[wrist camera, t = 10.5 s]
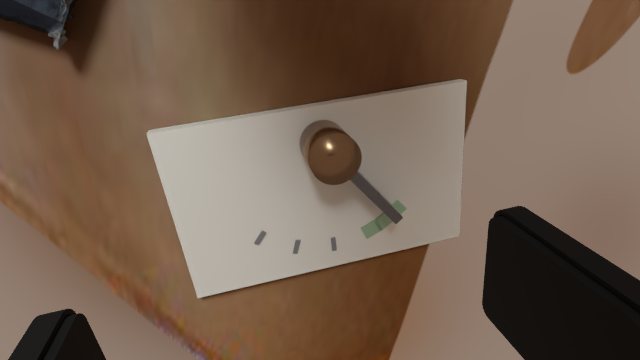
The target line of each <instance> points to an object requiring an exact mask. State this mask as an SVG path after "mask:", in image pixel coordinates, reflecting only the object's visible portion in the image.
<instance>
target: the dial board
mask: <svg viewBox="0 0 640 360" xmlns="http://www.w3.org/2000/svg"><path fill="white" fill-rule="evenodd" d="M466 89H467V81H466V80H462V79H457V80H451V81H444V82H438V83H432V84H426V85H420V86H414V87H408V88H402V89H396V90H390V91H384V92H378V93H371V94H365V95H359V96H353V97H347V98H341V99H335V100H329V101H323V102H317V103H311V104H305V105H299V106H292V107H286V108H280V109H274V110H268V111H262V112H256V113H250V114H244V115H238V116H232V117H226V118H219V119H213V120H207V121H201V122H195V123H189V124H183V125H177V126H171V127H165V128H159V129H153V130H149V131H148V132H147V137H148V140H149V144H150V147H151V150H152V153H153V156H154V160H155V163H156V166H157V169H158V172H159V176H160V179H161V182H162V185H163V188H164V192H165V195H166V198H167V201H168V204H169V208H170V211H171V214H172V217H173V220H174V224H175V227H176V230H177V233H178V236H179V239H180V243H181V246H182V249H183V252H184V255H185V259H186V262H187V265H188V268H189V271H190V275H191V278H192V281H193V284H194V287H195V291H196V294H197V297H198V298H201V297H205V296H210V295H214V294H218V293H222V292H226V291H231V290H235V289H239V288H243V287H248V286H252V285H256V284H260V283H265V282H269V281H273V280H277V279H282V278H286V277H290V276H294V275H299V274H303V273H307V272H311V271H315V270H320V269H324V268H328V267H332V266H337V265H341V264H345V263H349V262H354V261H358V260H362V259H366V258H371V257H375V256H379V255H383V254H388V253H392V252H396V251H400V250H404V249H409V248H413V247H417V246H421V245H426V244H430V243H434V242H438V241H443V240H447V239H451V238H455V237H459V236H460V217H461V196H462V195H461V194H462V174H463V152H464V131H465V110H466ZM318 120H330V121H332V122H334V123H336V124H337V125H339V126H340V127H341V128H342V129H343V130H344V131H345V132H346V133H347V134H348V135H349V136H350V137H351V138H352V139H353V140H354V141H355V142H356V143H357V144H358V146H359V148H360V150H361V155H362V160H361V165H360V168H359V170H358V171H359V172H360V173H361V174H362V175H363V176H364V177H365V178H366V179H367V180H368V181H369V182H370V183H371V184H372V185H373V186H374V187H375V188H376V189H377V190H378V191H379V192H380V193H381V194H382V195H383V196H384V197H385V198H386V199H387V200H388V201H389V202H390V203H391V204H392V205H393V206H394V208H395V209H396V210H397V211H398V212H399V213H400V214H401V215H402V217H403V218H402V219H401V220H400V221H399V222H398V223H397V224H395V223H394V222H393V221H392V220H391V219H390V218H389V217H388V216H387V215H386V214H385V213H384V212H383V211H382V210H381V209H379V208H378V207H377V206H376V205H375V204H374V203H373V202H372V201H371V200H370V199H369V198H368V197H367V196H366V195H365V194H364V193H363V192H362V191H361V190H360V189H359V188H358V187H357V186H356V185H355V184H354V183H353V182H352V181H351V180H348V181H347V182H345V183H342V184H339V185H328V184H325V183H322V182H321V181H319V180H318V179H317V178H316V177H315V176H314V174H313V173H312V171H311V169H310V167H309V165H308V164H307V162H306V160H305V158H304V157H303V155H302V153H301V150H300V144H299V143H300V137H301V134H302V132H303V131H304V129H305V128H306V127H307V126H308V125H310V124H311V123H313V122H315V121H318Z"/></svg>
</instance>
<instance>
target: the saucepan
mask: <svg viewBox="0 0 640 360" xmlns="http://www.w3.org/2000/svg"><path fill="white" fill-rule="evenodd" d="M299 144H300V150H301V153H302V155H303V157H304V158H305V160H306V162H307V164H308V165H309V167H310V169H311V171H312V173H313V174H314V176H315V177H316V178H317V179H318V180H319V181H321V182H322V183H325V184H328V185H339V184H342V183H345V182H347V181H348V180H351V181H352V182H353V183H354V184H355V185H356V186H357V187H358V188H359V189H360V190H361V191H362V192H363V193H364V194H365V195H366V196H367V197H368V198H369V199H370V200H371V201H372V202H373V203H374V204H375V205H376V206H377V207H378V208H379V209H381V210H382V211H383V212H384V213H385V214H386V215H387V216H388V217H389V218H390V219H391V220H392V221H393V222H394V223H395V224H397V223H398V222H399V221H400V220H401V219H402V218H403V217H402V215H401V214H400V213H399V212H398V211H397V210H396V209H395V208H394V206H393V205H392V204H391V203H390V202H389V201H388V200H387V199H386V198H385V197H384V196H383V195H382V194H381V193H380V192H379V191H378V190H377V189H376V188H375V187H374V186H373V185H372V184H371V183H370V182H369V181H368V180H367V179H366V178H365V177H364V176H363V175H362V174H361V173H360V172H359V171H358V170H359V168H360V165H361V160H362V155H361V150H360V148H359V146H358V144H357V143H356V142H355V141H354V140H353V139H352V138H351V137H350V136H349V135H348V134H347V133H346V132H345V131H344V130H343V129H342V128H341V127H340V126H339V125H337V124H336V123H334V122H332V121H330V120H318V121H315V122H313V123H311V124H310V125H308V126H307V127H306V128H305V129H304V131H303V132H302V134H301V137H300V143H299Z"/></svg>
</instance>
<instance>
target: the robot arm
mask: <svg viewBox="0 0 640 360" xmlns="http://www.w3.org/2000/svg"><path fill="white" fill-rule="evenodd" d="M482 305H483V309H484V312H485V314H486V316H487V317H488V318H489V319H490V321H491V322H492V323H493V324H494V325H495V326H496V328H497V329H498V330H499V331H500V332H501V333H502V334H503V335H504V336H505V338H506V339H507V340H508V341H509V342H510V344H511V345H512V346H513V347H514V348H515V349H516V350H517V351H518V353H519V354H520V355H521V356H522V357H523V358H524V359H525V360H640V281H639V280H638V279H636V278H635V277H633V276H631V275H630V274H628V273H627V272H625V271H624V270H622V269H621V268H619V267H617V266H616V265H614V264H613V263H611V262H610V261H608V260H606V259H605V258H603V257H602V256H600V255H599V254H597V253H595V252H594V251H592V250H591V249H589V248H588V247H586V246H584V245H583V244H581V243H580V242H578V241H577V240H575V239H574V238H572V237H570V236H569V235H567V234H566V233H564V232H562V231H561V230H559V229H558V228H556V227H555V226H553V225H552V224H550V223H548V222H547V221H545V220H544V219H542V218H541V217H539V216H537V215H536V214H534V213H533V212H531V211H530V210H528V209H526V208H525V207H522V206H517V207H512V208H507V209H503V210H499V211H497V212H496V213H495V214H494V217H493V218H492V219H491V220H490V221H489V228H488V239H487V252H486V264H485V276H484V289H483V301H482ZM8 360H106V358H105V356H104V354H103V352H102V350H101V348H100V346H99V344H98V342H97V340H96V338H95V336H94V333H93V331H92V329H91V327H90V325H89V323H88V321H87V319H86V317H85V316H84V315H83V314H80V313H79V314H76V313H75V311H73V310H72V309H65V310H61V311H57V312H52V313H47V314H43V315H39V316H37V317H36V318H35V319H34V320H33V321H32V323H31V325H30V326H29V328H28V329H27V331H26V332H25V334H24V335H23V337H22V339H21V340H20V342H19V343H18V345H17V347H16V348H15V350H14V352H13V353H12V355H11V356H10V358H9V359H8Z"/></svg>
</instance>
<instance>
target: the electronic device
mask: <svg viewBox="0 0 640 360" xmlns="http://www.w3.org/2000/svg"><path fill="white" fill-rule="evenodd" d="M76 1H77V0H0V18H1V19H4V20H7V21H15V22H17V23H20V24H24V25H26V26H29V27H31V28H33V29H35V30H39V31H43V32H46V33H48V36H49V37H53V39H54V44H53V46H54V47H56V49H57V50H59V49H60V48H61V47H62V45H63V44H64V43H65V42H66V41H67V40H68V39H67V38H66V37H65V35H64V34H65V33H66V31H65V30H64V24H65V21H66V20H69V19H71V16H72V17H73V16H74V15H71V12H72V8H73V7H74V5H75V2H76Z"/></svg>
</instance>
